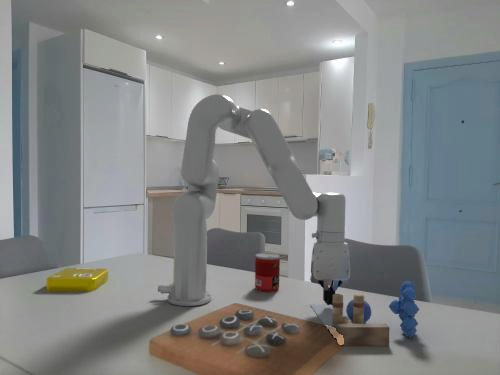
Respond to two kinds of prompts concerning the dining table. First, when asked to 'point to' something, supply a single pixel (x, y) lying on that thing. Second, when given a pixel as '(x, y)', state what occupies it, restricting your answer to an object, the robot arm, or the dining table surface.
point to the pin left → (337, 310)
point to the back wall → (364, 334)
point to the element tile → (77, 280)
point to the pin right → (358, 309)
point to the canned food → (267, 272)
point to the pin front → (346, 321)
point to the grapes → (406, 308)
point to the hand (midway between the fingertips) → (329, 303)
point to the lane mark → (326, 313)
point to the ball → (366, 311)
